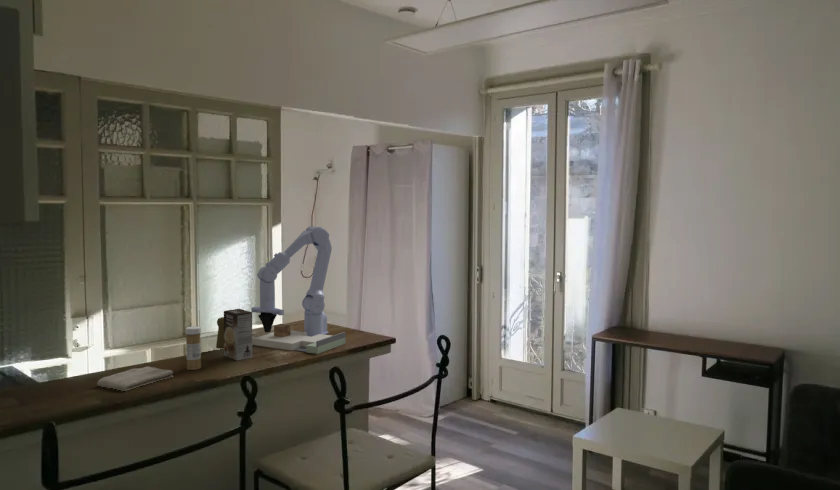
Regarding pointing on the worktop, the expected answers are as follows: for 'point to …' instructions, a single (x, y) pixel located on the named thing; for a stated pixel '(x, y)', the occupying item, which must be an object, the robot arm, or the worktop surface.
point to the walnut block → (282, 330)
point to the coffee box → (238, 334)
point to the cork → (220, 333)
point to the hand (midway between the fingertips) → (267, 331)
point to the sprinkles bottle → (193, 347)
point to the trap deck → (301, 341)
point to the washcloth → (134, 378)
